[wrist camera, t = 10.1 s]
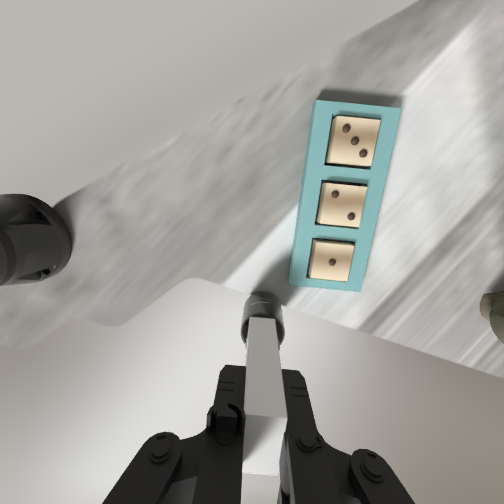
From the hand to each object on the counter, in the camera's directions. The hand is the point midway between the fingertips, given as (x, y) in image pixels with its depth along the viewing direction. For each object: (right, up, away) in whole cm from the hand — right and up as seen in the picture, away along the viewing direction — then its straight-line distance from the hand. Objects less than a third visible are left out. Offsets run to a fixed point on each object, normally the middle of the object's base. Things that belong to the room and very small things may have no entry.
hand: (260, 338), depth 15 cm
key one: (+12, +4, +28) cm, 31 cm away
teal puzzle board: (+13, +13, +27) cm, 32 cm away
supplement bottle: (+1, -5, +32) cm, 32 cm away
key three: (+14, +21, +23) cm, 35 cm away
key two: (+13, +13, +25) cm, 31 cm away
